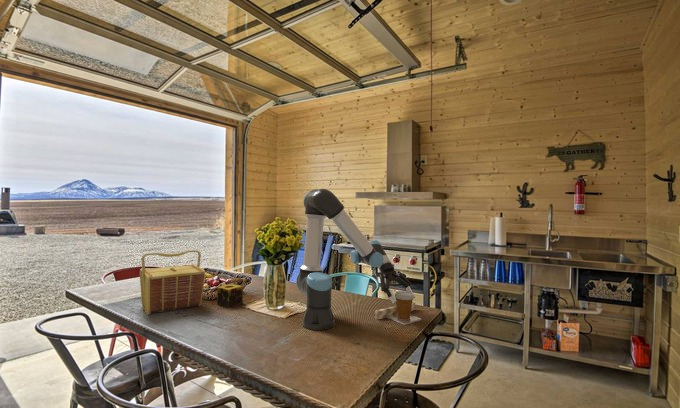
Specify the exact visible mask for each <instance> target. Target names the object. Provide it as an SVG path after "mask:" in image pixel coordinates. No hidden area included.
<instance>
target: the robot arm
mask: <svg viewBox="0 0 680 408" xmlns="http://www.w3.org/2000/svg"><path fill="white" fill-rule="evenodd" d="M303 206H304V208H305V209H304V210H305V211H304V215H305V216H306V218H307V221H306V232H305V241H304V242H305V243H304V253H303V264H302V265H300V267H299V272H298V274H297V276H296V278H295V279H296V280H295V282H296V286H297V288H298V290H299V291H300V292H301V293H302V294H304V295H305V296H306V308H305V312H304V315H303V317H302V327H303V328H305V329H308V330H313V331H324V330H329V329H331V328H333V327H334V326H335V317H334V312H333V311H332V310H333V309H332V287H333V286H332V285H333V282H332V277H331V276H330V275H329V274H328V273H325V272H323V268H322V267H321V256H322V248H323V247H322V245H323V234H324V223H325V222H324V221H325V219H327V218H328V219H329V220H330V221H333V223H334V224H335V225H336V226H337V228H338V229H339V230H340V232H341V233H342V234H343V235H344V236H345V238H346V239H347V240H348V242H350V244H351V246H353V248H354V250H351V251H350V253H349V255H350V256H349V257H350V260H351V262H352V264H356V265H357V264H358V265H359V264H361V263H362V264H364V265H367V266H370V267H372V268H378V270H379V272H380V274H379V275H378V278H379V281H380V282H379V283H380V291H381V292H383V293H384V294H386V295H387V297H388V298H389V300H390V302H391V303H392V304H393V305H394V304H396V301H397V300H396V298H395V294H394V293H393V291H392V290H391V288H390V284H391V282H396V283H398V284H399V285H401V286H403V288H405V290H406V292H411V293H412V294H413V296H414V298H413V300H415V298H416V295H415V294H414V290H413V289H412V288H411V286H412V285H413V283H412V282H411V281H409V279H408V278H406V277H405V276H404V275H403V274H402V273H401V271H400V270H398V271H397V272H396V271H395V267H394V264H393V263H392V262H391V260H390V258H389V256H388V255H387V253H386V251H385V249H384V248H383V247H384V246H382V244H381V243H380V241H378V240H376V239H374V240H371V241H369V240H368V239H367V238H366V237H365V235H364V234H363V233H362V231H361V229H360V228H359V227H358V226H357V225H356V224H355V222H354V221H353V220H352V218H351V217H350V215H348V213H347V212H346V211H345V206H344V205H343V203H342V202H341V201H340V199H338V197H337V196H336V194H334V192H332V191H330V190H329V189H326V188H320V189H318V188H317V189H312V190H310V191H308V192H307V193H306V194H304V197H303Z"/></svg>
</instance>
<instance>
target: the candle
mask: <svg viewBox="0 0 680 408" xmlns="http://www.w3.org/2000/svg"><path fill="white" fill-rule="evenodd" d="M243 289H244V287H243V285H239V284H234V283H229V284H225V285H221V286H220V285H219V286H217V288H216V291H217V293H216V297H217V299H216V305H219V306H221V307H225V308H231V307H235V306H237V305H242V304H243V303H244V301H243V300H244V297H243Z"/></svg>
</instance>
